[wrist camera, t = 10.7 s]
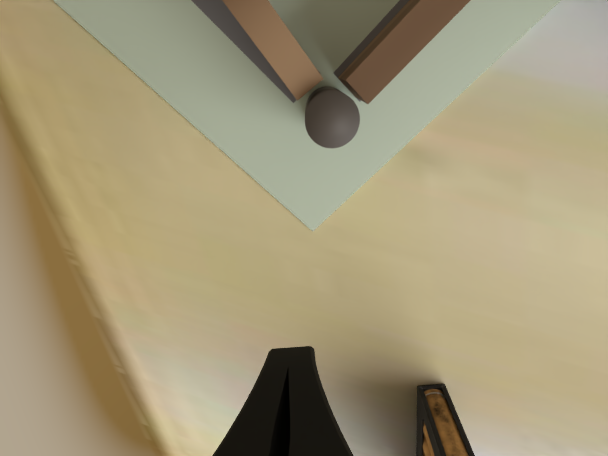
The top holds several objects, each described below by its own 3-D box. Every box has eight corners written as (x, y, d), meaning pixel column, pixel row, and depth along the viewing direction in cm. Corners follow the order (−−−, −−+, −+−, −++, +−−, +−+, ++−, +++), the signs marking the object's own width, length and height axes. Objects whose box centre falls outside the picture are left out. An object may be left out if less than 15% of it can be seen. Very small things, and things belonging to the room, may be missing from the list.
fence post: (499, -39, 15) (573, -82, 11) (326, 138, 18) (331, 159, 14) (470, -82, 14) (537, -144, 10) (296, 109, 17) (293, 121, 13)
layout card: (559, -1, 15) (563, -2, 15) (312, 229, 20) (312, 231, 19) (295, -411, 11) (295, -421, 11) (56, 1, 15) (52, 0, 15)
